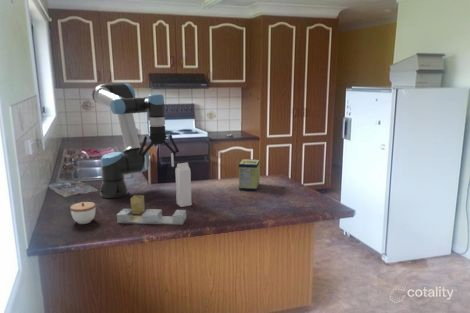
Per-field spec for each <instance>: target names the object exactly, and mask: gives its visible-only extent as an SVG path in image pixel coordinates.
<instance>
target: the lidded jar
mask: <svg viewBox="0 0 470 313" xmlns="http://www.w3.org/2000/svg"><path fill="white" fill-rule="evenodd" d="M69 208H70V214H71V217H72V219H73V221H74V222H76V223H77V224H78V225H85V224H89V223H91V222H92V220H93V219H94V218H95V216H96V210H97V209H96V208H97V207H96V203H95V202H93V201H81V202H77V203H73V204H71V206H70V207H69Z"/></svg>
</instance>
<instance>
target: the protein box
mask: <svg viewBox="0 0 470 313" xmlns="http://www.w3.org/2000/svg"><path fill="white" fill-rule="evenodd" d="M260 162H261V161H260V159H255V158H253V159H251V158H243V159H242V160H241V161H240V162H239V164H238V190H239V191H249V192H250V191H251V192H257V191H258V188H259V186H260V168H261V167H260V165H261V164H260Z"/></svg>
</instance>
